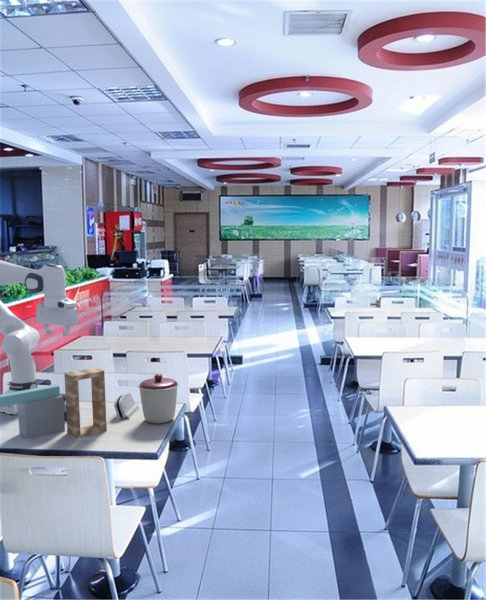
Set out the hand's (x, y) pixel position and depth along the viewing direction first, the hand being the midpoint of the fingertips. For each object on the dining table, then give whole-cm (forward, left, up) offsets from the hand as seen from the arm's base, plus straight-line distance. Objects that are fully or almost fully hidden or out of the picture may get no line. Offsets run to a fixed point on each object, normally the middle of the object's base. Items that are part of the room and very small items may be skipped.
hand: (57, 334), depth 233 cm
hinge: (+13, +28, -42) cm, 52 cm away
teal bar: (-6, -11, -26) cm, 29 cm away
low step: (-5, -7, -41) cm, 42 cm away
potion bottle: (-8, +9, -41) cm, 43 cm away
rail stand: (+13, +1, -41) cm, 43 cm away
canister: (+32, +26, -41) cm, 59 cm away
